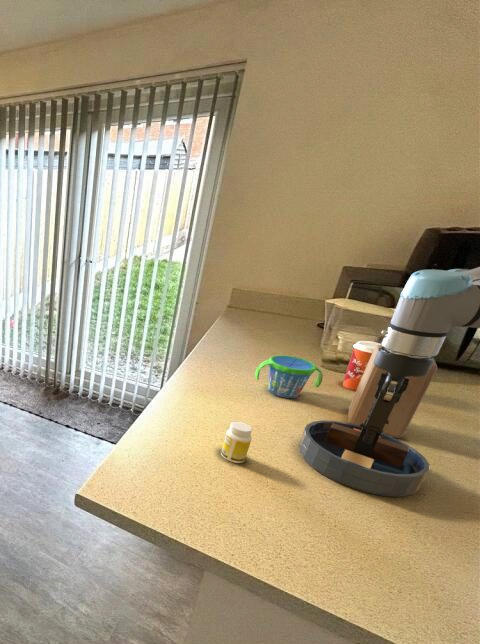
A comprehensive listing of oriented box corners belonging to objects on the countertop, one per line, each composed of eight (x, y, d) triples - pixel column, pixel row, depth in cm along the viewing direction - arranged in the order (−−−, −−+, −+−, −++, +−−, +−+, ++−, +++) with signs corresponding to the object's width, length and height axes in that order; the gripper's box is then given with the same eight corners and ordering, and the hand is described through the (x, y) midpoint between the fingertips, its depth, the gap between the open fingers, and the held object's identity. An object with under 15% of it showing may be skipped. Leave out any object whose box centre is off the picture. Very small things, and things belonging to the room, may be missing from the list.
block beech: (365, 476, 83) (374, 459, 81) (361, 486, 80) (370, 469, 78) (337, 466, 86) (345, 449, 84) (333, 475, 83) (340, 458, 82)
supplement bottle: (248, 458, 90) (258, 427, 86) (239, 466, 87) (249, 435, 84) (225, 447, 93) (234, 418, 90) (216, 455, 91) (225, 425, 87)
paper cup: (339, 388, 118) (357, 346, 113) (336, 379, 124) (352, 338, 119) (375, 395, 114) (395, 352, 109) (369, 385, 120) (388, 343, 114)
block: (402, 440, 95) (440, 366, 87) (346, 425, 101) (377, 354, 93) (399, 423, 101) (434, 352, 93) (347, 409, 108) (376, 342, 100)
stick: (401, 462, 82) (409, 446, 80) (400, 467, 80) (408, 451, 79) (326, 437, 90) (332, 422, 88) (324, 442, 89) (330, 427, 87)
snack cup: (253, 395, 116) (262, 364, 112) (248, 380, 124) (257, 351, 120) (320, 407, 109) (333, 374, 105) (310, 390, 118) (321, 360, 114)
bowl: (419, 467, 86) (431, 447, 84) (414, 514, 74) (427, 491, 72) (307, 429, 99) (314, 411, 97) (288, 464, 88) (295, 444, 85)
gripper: (383, 336, 83) (345, 429, 92) (375, 357, 74) (333, 458, 83) (436, 345, 78) (390, 443, 87) (434, 369, 68) (382, 475, 78)
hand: (362, 450), depth 85 cm, fingers closed on stick, 2 cm apart
